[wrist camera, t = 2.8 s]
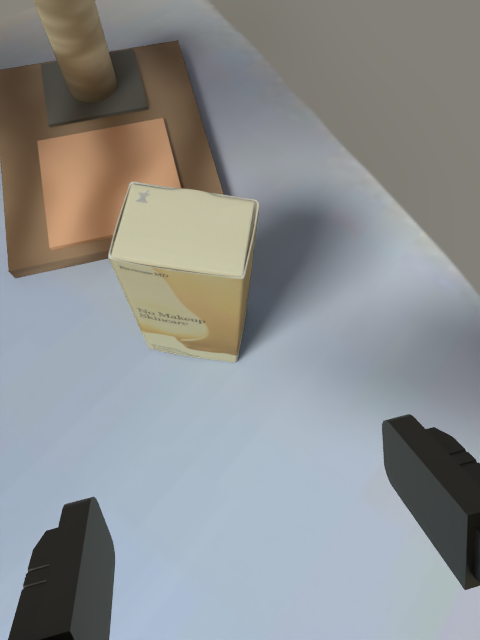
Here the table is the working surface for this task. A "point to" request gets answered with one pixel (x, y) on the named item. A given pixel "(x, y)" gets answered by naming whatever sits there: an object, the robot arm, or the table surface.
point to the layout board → (91, 138)
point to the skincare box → (186, 267)
